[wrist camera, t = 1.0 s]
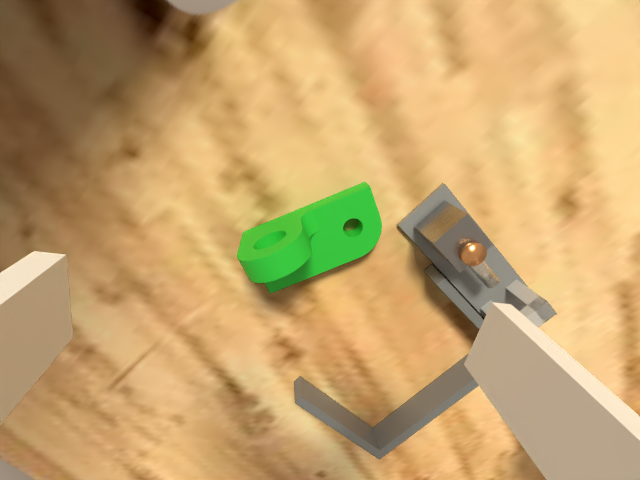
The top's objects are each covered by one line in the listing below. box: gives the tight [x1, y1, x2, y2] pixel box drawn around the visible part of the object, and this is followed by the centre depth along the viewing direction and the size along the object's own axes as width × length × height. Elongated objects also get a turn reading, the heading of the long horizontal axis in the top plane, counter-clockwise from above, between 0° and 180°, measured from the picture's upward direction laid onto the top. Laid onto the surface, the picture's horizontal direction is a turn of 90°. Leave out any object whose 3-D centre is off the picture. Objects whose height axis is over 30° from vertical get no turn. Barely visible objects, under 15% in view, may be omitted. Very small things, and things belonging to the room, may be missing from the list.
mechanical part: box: [237, 182, 382, 294], centre depth 28 cm, size 12×6×8 cm, turn 111°
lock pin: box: [415, 200, 499, 288], centre depth 31 cm, size 9×4×5 cm, turn 44°
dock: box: [294, 183, 557, 460], centre depth 35 cm, size 20×26×5 cm
